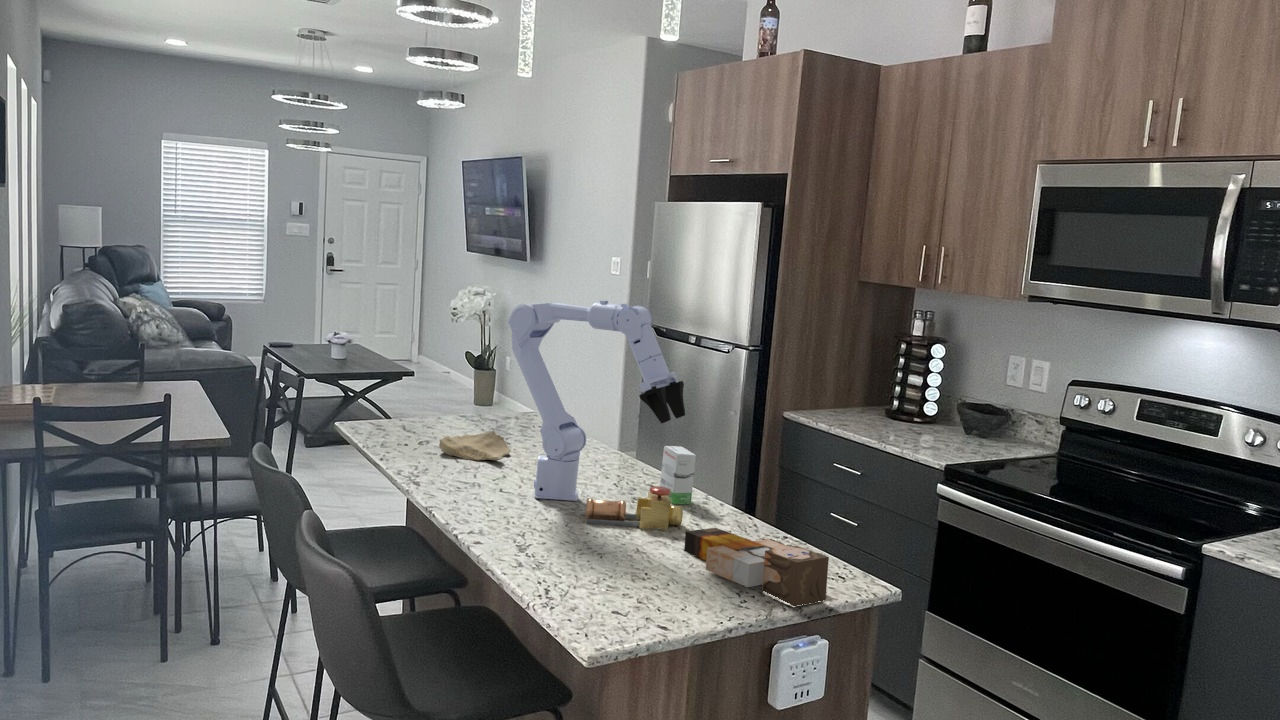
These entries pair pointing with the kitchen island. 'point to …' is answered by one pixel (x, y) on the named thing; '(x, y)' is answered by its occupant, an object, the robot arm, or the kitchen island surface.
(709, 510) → the kitchen island surface
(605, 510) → the coupling
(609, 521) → the rails
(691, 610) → the kitchen island surface
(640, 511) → the valve
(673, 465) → the ink box
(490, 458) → the rock
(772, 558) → the toy
